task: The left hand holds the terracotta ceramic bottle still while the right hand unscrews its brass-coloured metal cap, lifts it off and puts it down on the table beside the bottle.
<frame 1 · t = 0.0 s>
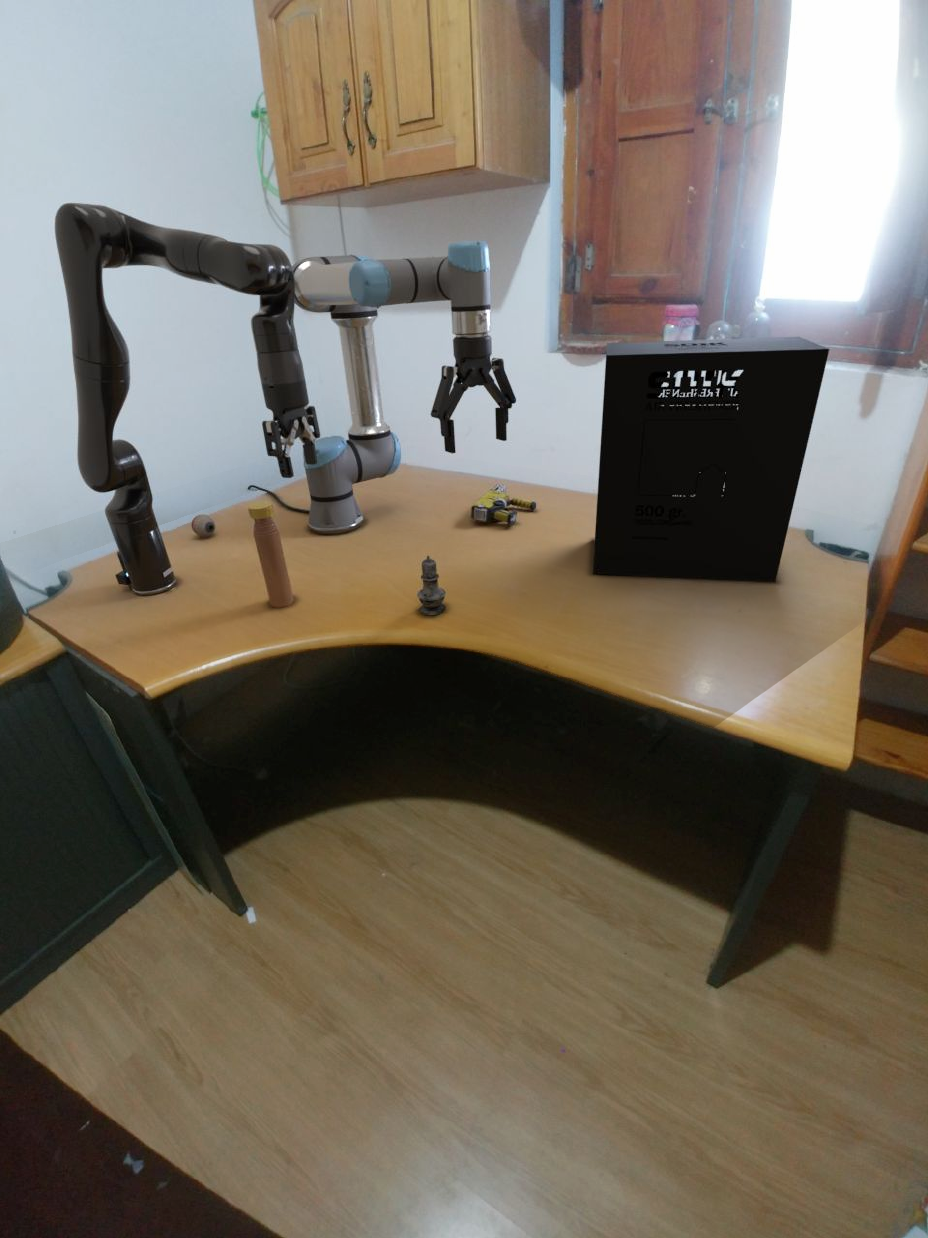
left hand: (300, 470, 113), 29 cm above the table, tool pointing down, fingers open, 8 cm apart
right hand: (476, 445, 127), 28 cm above the table, tool pointing down, fingers open, 13 cm apart
dark grey tiered piece: (432, 609, 124), on the table
cap: (260, 506, 120), point 22 cm above the table, screwed on, not yet turned
toy gun: (508, 512, 171), on the table
bottle: (282, 602, 131), on the table
eyeball: (206, 536, 167), on the table
cardboard box: (677, 559, 139), on the table
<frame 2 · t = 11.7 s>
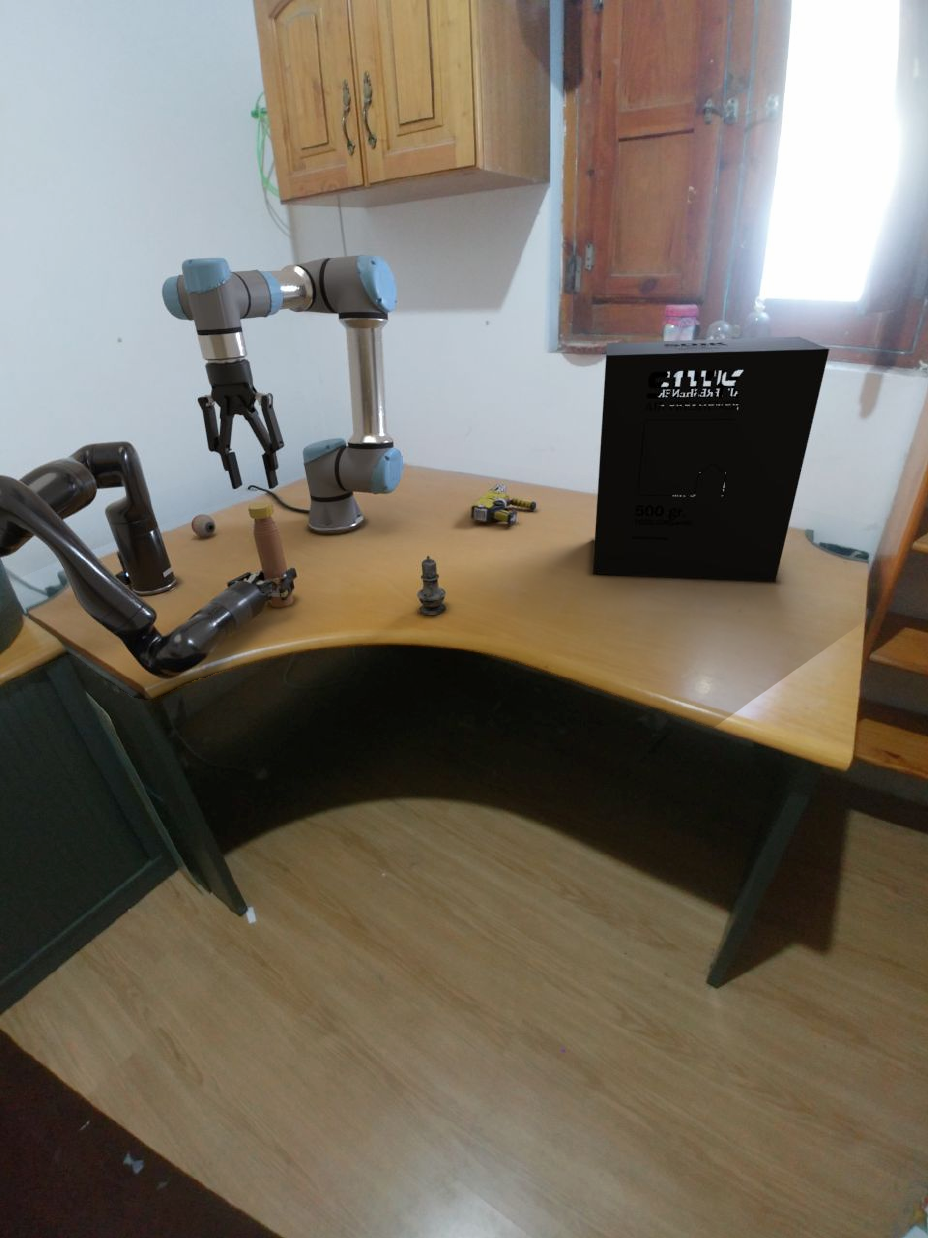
left hand: (282, 570, 130), 6 cm above the table, tool horizontal, fingers closed on bottle, 5 cm apart
right hand: (255, 486, 118), 26 cm above the table, tool pointing down, fingers open, 7 cm apart
bottle: (282, 602, 131), on the table, touching left hand
everything else where it was.
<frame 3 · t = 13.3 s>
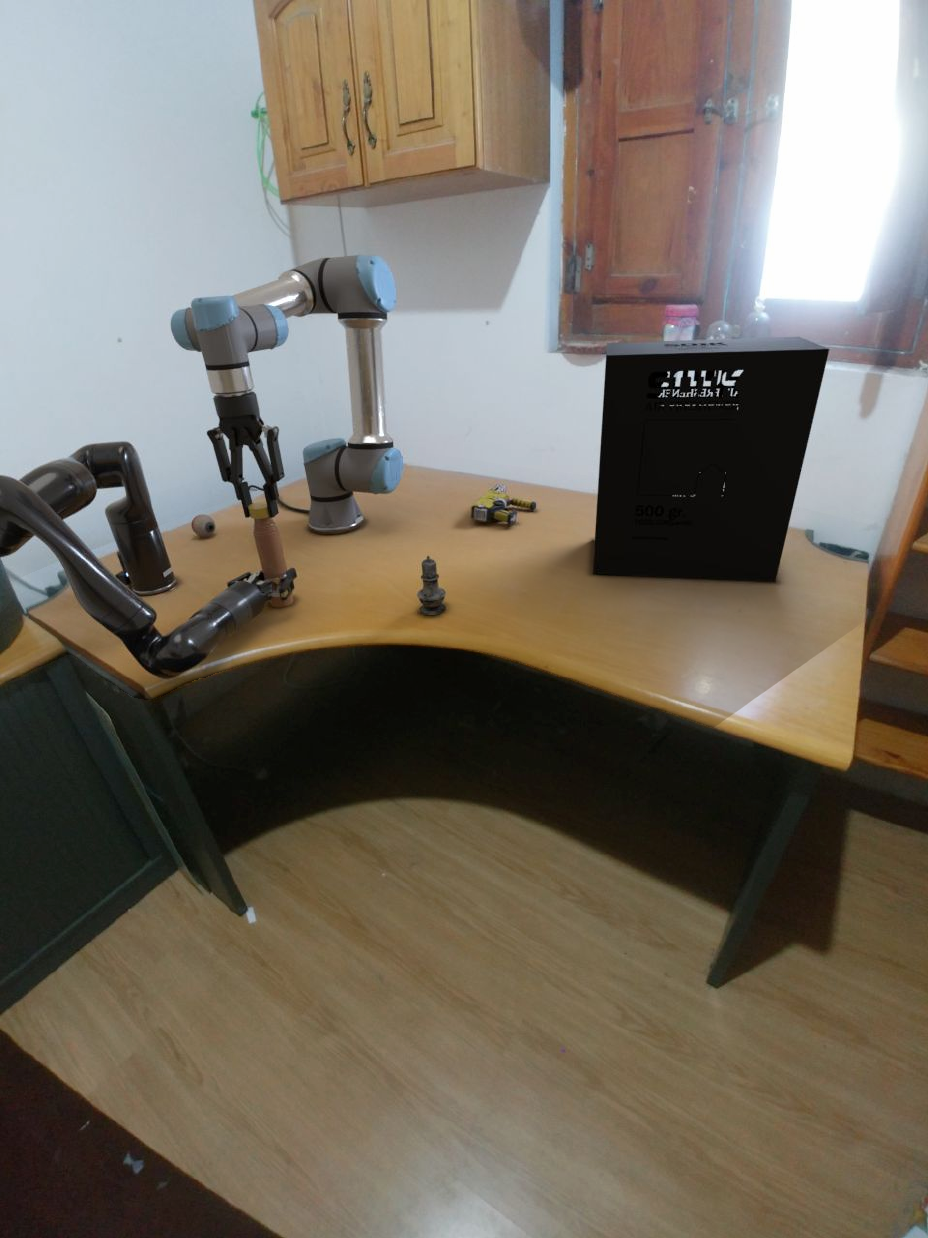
left hand: (282, 570, 130), 6 cm above the table, tool horizontal, fingers closed on bottle, 5 cm apart
right hand: (262, 514, 121), 20 cm above the table, tool pointing down, fingers closed on cap, 4 cm apart
cap: (260, 506, 120), point 22 cm above the table, screwed on, not yet turned, touching right hand
bottle: (282, 602, 131), on the table, touching left hand
everything else where it was.
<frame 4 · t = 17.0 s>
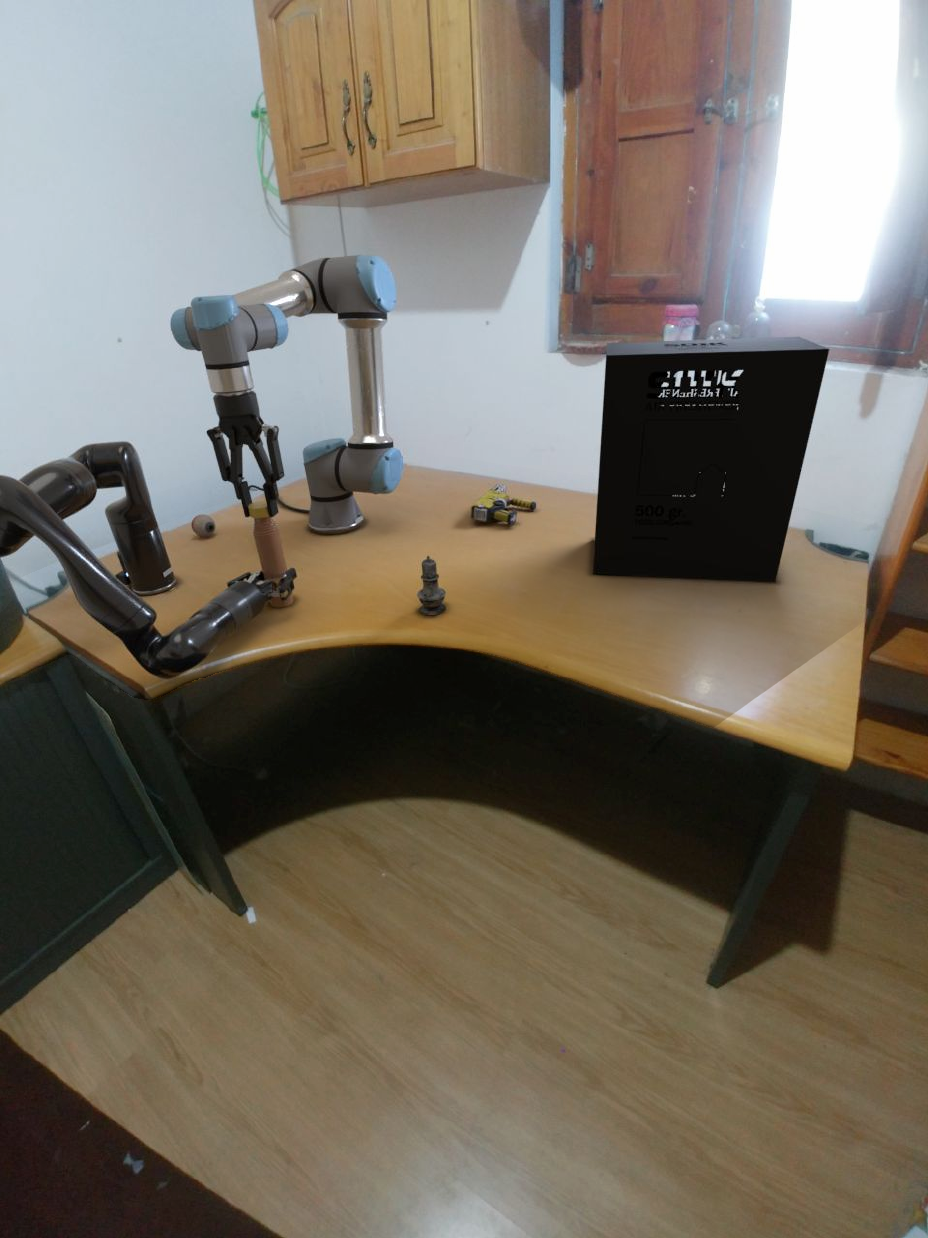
left hand: (282, 570, 130), 6 cm above the table, tool horizontal, fingers closed on bottle, 5 cm apart
right hand: (262, 514, 121), 20 cm above the table, tool pointing down, fingers closed on cap, 4 cm apart
cap: (260, 506, 120), point 22 cm above the table, turned 111° so far, risen 0.1 cm, still on its thread, touching right hand
bottle: (282, 602, 131), on the table, touching left hand
everything else where it was.
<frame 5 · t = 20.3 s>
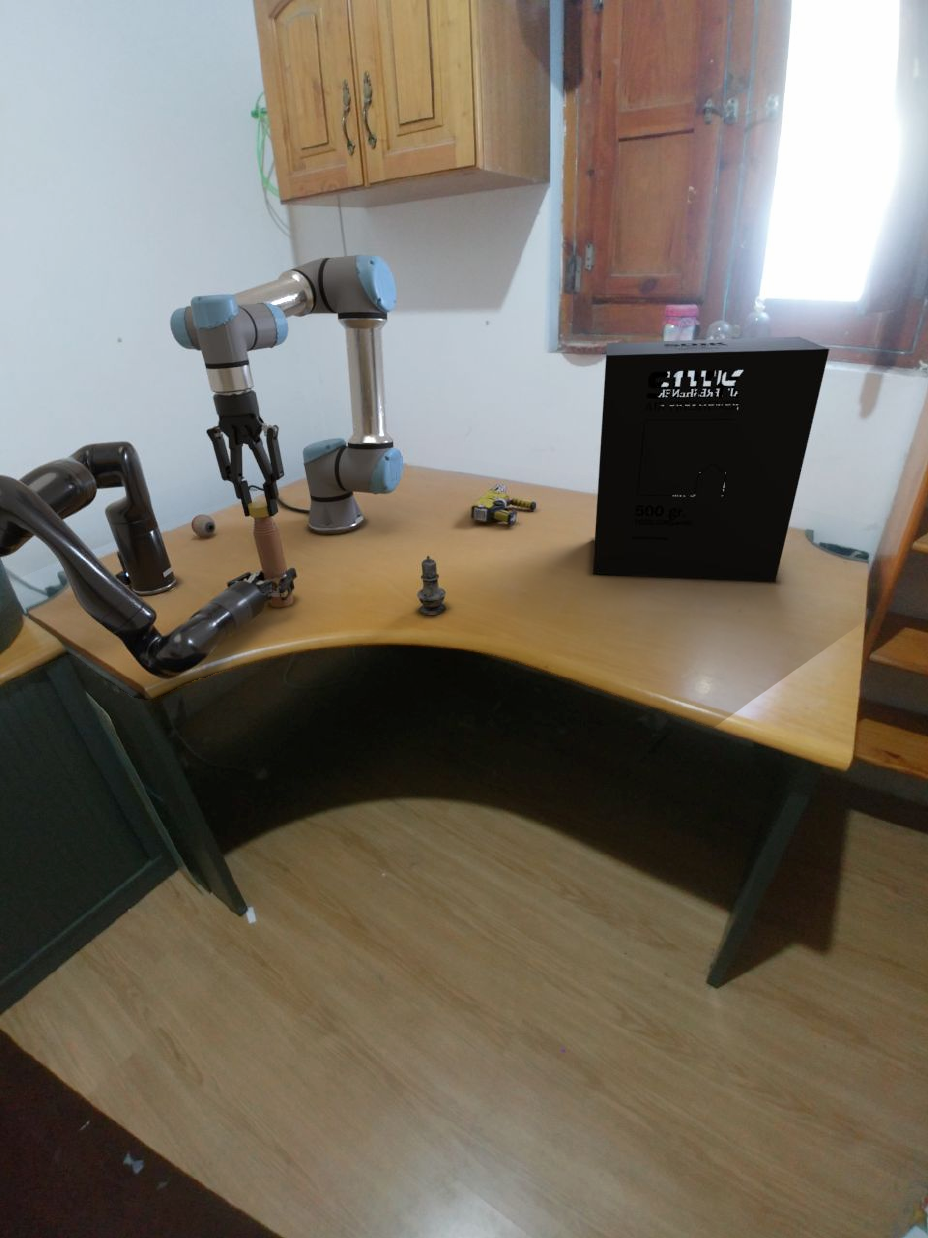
left hand: (282, 570, 130), 6 cm above the table, tool horizontal, fingers closed on bottle, 5 cm apart
right hand: (261, 513, 121), 20 cm above the table, tool pointing down, fingers closed on cap, 4 cm apart
cap: (259, 505, 120), point 22 cm above the table, turned 222° so far, risen 0.2 cm, still on its thread, touching right hand
bottle: (282, 602, 131), on the table, touching left hand
everything else where it was.
when the right hand's fingers open (1 cm above the table, at t = 31.5 s): cap stays where it is, point 2 cm above the table.
when the left hand's fingers open (6 cm above the table, at t = 32.8 s): bottle stays where it is, on the table.
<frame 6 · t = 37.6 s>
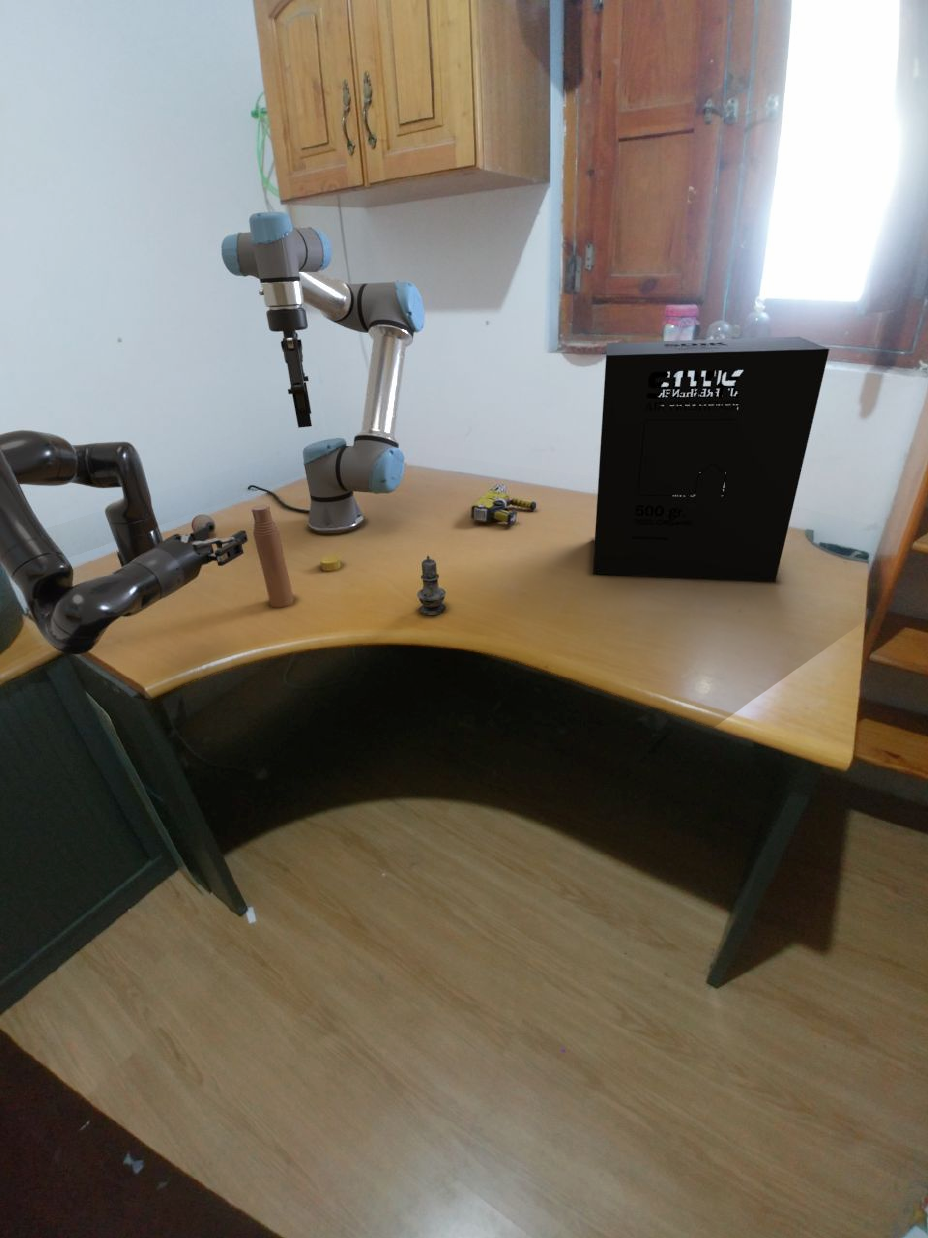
left hand: (225, 533, 111), 20 cm above the table, tool horizontal, fingers open, 8 cm apart
right hand: (305, 420, 128), 34 cm above the table, tool pointing down, fingers open, 13 cm apart
cap: (330, 560, 144), point 2 cm above the table, off its thread
bottle: (282, 602, 131), on the table
everything else where it was.
at the end: cap came off its thread; cap point 1.8 cm above the table; the left hand is holding nothing; the right hand is holding nothing; bottle tilted 0°; bottle moved 0.0 cm from its start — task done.
